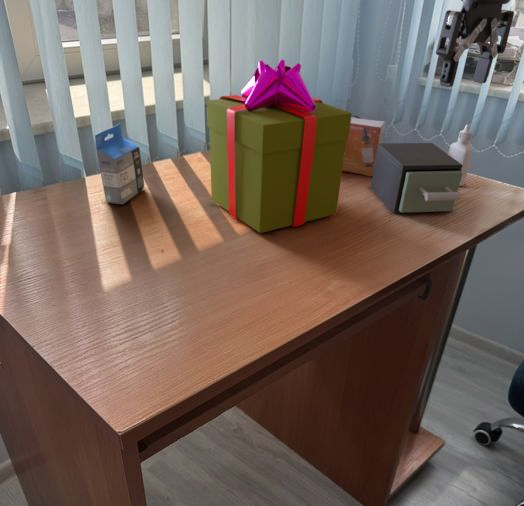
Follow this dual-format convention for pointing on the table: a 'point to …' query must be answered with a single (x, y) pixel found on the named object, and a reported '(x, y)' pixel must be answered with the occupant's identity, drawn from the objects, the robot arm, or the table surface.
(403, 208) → the drawer
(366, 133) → the small box
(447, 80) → the robot arm
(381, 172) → the cabinet
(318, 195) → the gift box
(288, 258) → the table surface
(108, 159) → the label tape box
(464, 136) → the eye dropper bottle
